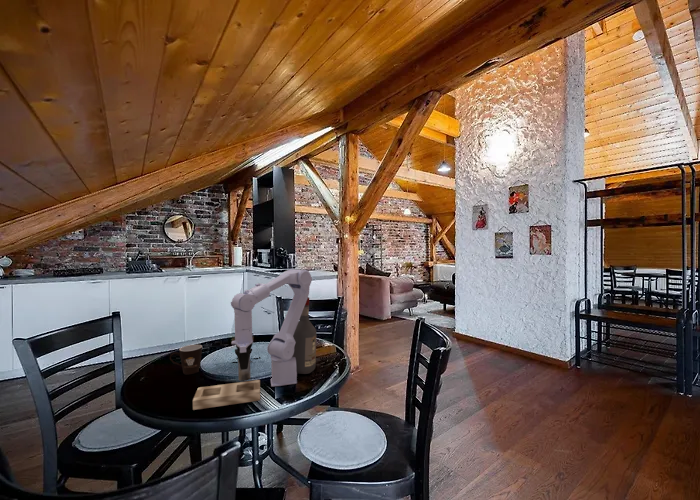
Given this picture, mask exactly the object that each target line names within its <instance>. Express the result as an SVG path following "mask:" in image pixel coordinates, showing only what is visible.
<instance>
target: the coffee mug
mask: <svg viewBox="0 0 700 500" xmlns="http://www.w3.org/2000/svg"><path fill="white" fill-rule="evenodd" d="M202 352H203V345H201V344H189V345H185V346H182V347H180V348H179V352H176V351H175V352H172V353H170V354H169V360H170V362H172V363H173V364H175V365H176V366H180V367H181V368H182V374H184V375H193V374H197V373H199V372H200V371H199V367H200V368H201V362H202ZM173 355H178V356H179V357H180V362H181V363H179V362H176V361H175V360H173V359H172V357H173Z"/></svg>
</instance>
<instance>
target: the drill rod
mask: <svg viewBox="0 0 700 500" xmlns="http://www.w3.org/2000/svg"><path fill="white" fill-rule="evenodd" d="M247 349H249V348H247ZM250 360H251V359H250V357H249V362H248V368H247V369H244V370H241V368H240V364H239V360H238V359H237V361H238V363H237V364H238V365H237V368H238V370H237V371H238V372H237V373H238V381H240V382H246V381H248V380H249V381H250V379H251V378H252V377H251V374H252V373H251V361H250Z"/></svg>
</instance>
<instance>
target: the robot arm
mask: <svg viewBox="0 0 700 500" xmlns="http://www.w3.org/2000/svg"><path fill="white" fill-rule="evenodd" d="M312 281H313V278H312V275H311V272H310V271H309V270H308V269H296V268H295V269H294V268H290V269H287V270H285V271H283V273H281V274H280V275H278V276H276V277H275V278H273V279H271V280H270V281H268V282H266V283H263V282H261V283H260V282H257V283H255V284H254V285H255V286H253V287H251V288H250V289H245V290H243V293H242V292H241V293H239V292H238V293H236V294H235V295H234V296H233V297H232V300H231V301H230V306H231V307H232V309H233V310H234V311H233V313H234V340H232V341H231V345H235V347H236V348H235V349H234V353H235V356H236V358H238V359H237V361H238V360H239V364H240V368H241V370H244V369H247V368H248V362H249V357H250V356H251V354H252V351H253V348H252V347H253V342H254V340H253V315H252V314H253V312H252V311H253V309H254V307H255V305H257V304H258V303H261V302H262V301H264V300H265V299H266V298H267V299H268V298H269V297H270V294H271V292H273V291H275V290H277V289H279V288H281V287H283V286H285V285H288V286H289V287H290V289H291V290H292V292H293V294H294V295H293V298H292V300H291V302H290V305H289V307H288V310H287V312H286V313H285V314H286V315H285V317H284V320H283V322H282V325H281V327H280V330H279V331H278V332H277V333H275V334H274V335H273V337H272V339H271V340H270V342H269V343H268V345H267V347H266V349H267V353H268V354H269V356H270V359H271V361H270V363H271V365H270V366H271V377H272V378H271V377H270V378H271V379H270V387H281V386H287V385H295V384H298V380H297V379H298V378H297V377H298V373H297V371H296V358H295V357H292V356H293V354H294V346H295V343H296V342H295V340H294V337H293V335H294V332H295V330H296V327H297V324H298V322H299V321H300V320H299V319H300V317H301V314H302V311H303V309H304V306H305V304H306V301H307V298H308V297H309V295H310V286H311V284H312ZM247 348H249V349H247Z"/></svg>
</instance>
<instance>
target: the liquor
mask: <svg viewBox="0 0 700 500" xmlns="http://www.w3.org/2000/svg"><path fill="white" fill-rule="evenodd" d="M309 309H310V297H309V296H308V298H307V301H306V304H305V306H304V309H303V311H302V314H301V317H300V319H299V322H298V324H297V327H296V330H295V332H294V335H293V337H294V340H295V342H296V343H295V346H294V354H293V356H292V357H295V358H296V371H297V374H300V375H308V374H311V373H312V372H314V371H315V369H316V363H317V362H316V359H317V357H316V355H317V329H316V327H315V326H314V325H313V324H312V322H311V321H310V317H309V314H310V313H309V312H310V311H309Z"/></svg>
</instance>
